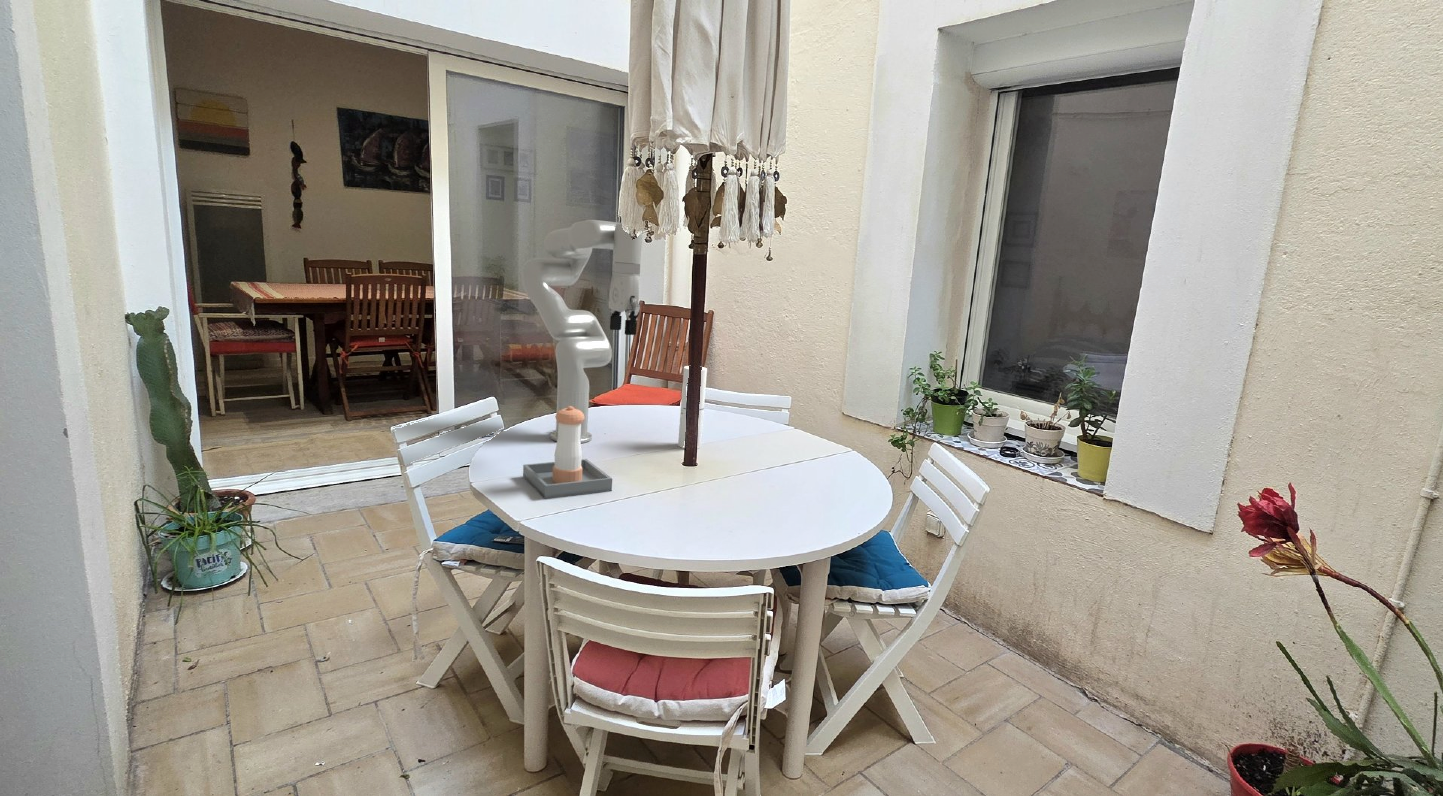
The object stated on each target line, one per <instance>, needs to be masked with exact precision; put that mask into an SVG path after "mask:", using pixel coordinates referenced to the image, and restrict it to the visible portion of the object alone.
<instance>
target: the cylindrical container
mask: <svg viewBox="0 0 1443 796" xmlns="http://www.w3.org/2000/svg"><path fill="white" fill-rule="evenodd" d="M689 366H690V365H685V366H684V367H683V374H682V375H683V377H682V390H681V403H680V414H679V415H680V418H679V429H678V441H677V442H678V443H677V447H678V446H680V447H682V448H681V449H683V446H684V441H685V432H686V386H687V383H688V378H689ZM701 367H702V370H701V393H700V404H699V426H698V446H699V448H700V446H701V447H702V437H703V436H702V434H703V424H704V423H703V422H704V413H705V412H704V411H705V400H706V399H705V398H706V390H707V389H706V388H707V374H708V368H707V367H703V366H701ZM680 447H679V448H680ZM700 449H701V448H700Z"/></svg>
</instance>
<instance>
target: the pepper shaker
mask: <svg viewBox="0 0 1443 796" xmlns="http://www.w3.org/2000/svg"><path fill="white" fill-rule="evenodd" d="M554 416H555V417H554V418H555V420H557V422H559V424H558V440H557V441H556V446H555V451H554V462H555V465H554V466H553V477H552V480H553V482H555V483H567V482H576V481H582V466H581V459H583V456H582V455H583V454H582V453H583V452H582V445H581V444H582V443H581V442H580V433H581V423H582V422H583V421H584V414H583V413H582V412H581V411H580V410H578V409H574V408H573V407H572V406H568V407H567V408H565V409H562V410H559V411H558V412H557V411H556V414H555V415H554Z"/></svg>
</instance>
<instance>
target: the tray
mask: <svg viewBox="0 0 1443 796" xmlns="http://www.w3.org/2000/svg"><path fill="white" fill-rule="evenodd" d="M522 465H523V466H522V467H523V471H522V477H523V478H524V479H525V481H527V483H528V484H530V485H531V486H532V487H533V488H534V489H535V490H536V491H537V493H539V494H540V495H541V497H542V498H543V499H544V500H547V499H554V498H555V499H556V498H564V497H571V496H581V495H588V494H589V495H590V494H596V493H597V494H598V493H604V492H605V493H606V492H612V490H613V478H612V477H611V476H610V475H609V474H607V473H606V472H604V471H603V470H602V469H600V468H599V467H597V466H596V465H595V464H594V463H593V462H591V461H590V460H588V458H582V459H581V466H582V481H576V482H567V483H555V482H553V480H552V477H553V466H554V465H555V461H550V462H538V463H528V464H522Z"/></svg>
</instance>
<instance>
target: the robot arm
mask: <svg viewBox="0 0 1443 796" xmlns="http://www.w3.org/2000/svg"><path fill="white" fill-rule="evenodd" d="M622 223H623V222H616V221H610V220H609V221H608V220H600V219H599V220H597V219H586V220H581V221H580V220H579V221H576V222H573V224H571V226H570V227H565V228H564V227H563V228H560V229H555V230H552V231H550V232H549V233H548V234H547V235H546V236H545V238H544V240H543V241H544V243H543V245H544V248H545V250H546V252H547V253H548V254H549V255H550V256H552V257H551V258H550V257H535V258H534V257H533V258H530V259H528V260H526V261H525V262H524V263H523V265H522V267H521V275H520V277H521V284H522V287H523V289H524V292H525V293H526V296H527V297H528V298H529V300H530V302H531V303H532V304H533V305H534V306H535V308H536V310H537V311H538V314H539V316H540V318H541V319H542V321H543V324H544V325H545V327H546V330H547V332H548V333H549V335H550V336H551V338H552V339H554V340H556V341H558V342H557V343H556V346H555V351H554V353H555V354H554V355H555V361H556V366H557V390H556V391H557V393H556V394H557V395H556V396H557V397H556V398H557V399H556V413H557V412H558V411H559V410H562V409H565V408H567V407H568V406H572V407H573V408H574V409H578V410H580V411H581V412H582V413H583V414H584V421H583V422H582V423H581V433H580V442H581V444H583V443H588V442H590V441H592V439H593V434H592V433H591V432H589V431H588V423H589V422H588V421H589V420H588V419H589V401H590V380H589V377H588V376H587V374H586V372H585V370H584V369H587V368H601V367H605V366H607V365H608V364H609V363H610V362H611V360H612V358H613V350H612V346H611V343H610V341H609V339H608V337H607V334H606V333H605V331H604V330H603V328H602V326H601V324H600V323H599V320H598V319H597V316H595V315H594V314H593V313H592V312H591V311H588V310H584V309H570V308H569V307H568V306H567V304H566V303H565V300H564V298H563V297H562V296H561V295H560V293H558V292H557V291H556V290H555V289H553V288H552V287H551V286H554V287H555V286H557V287H559V286H560V287H561V286H562V287H569V286H572V285H574V284H576V282H578V280H579V278H580V276H581V274H582V272H583V270H584V269H585V267H586V265H587V263H588V261H589V259H590V258H591V255H592V253H593V249H602V250H604V249H605V250H611V251H612V250H613V251H612V252H613V253H612V269H611V274H612V276H611V280H610V287H609V296H608V308H609V309H610V312H609V315H610V318H609V319H610V321H609V330H611V331H621V329H622V320H623V319H622V318H623V316H622V313H625V318H626V319H625V320H624V321H625V322H624V335H626V336H635V335H637V325H638V319H639V318H638V316H639V314H640V309H641V305H640V303H639V302H640V301H639V299H640V295H639V294H640V283H639V280H640V279H639V277H640V276H641V264H642V261H641V260H642V248H643V247H642V245H643V232H642V233H641V234H640V235H639V236H638V237H637V238H635V239H634V240H632V239H631V237H630V235H629V234H628V233H627V232H625V231H624V230H623V228H622ZM553 257H554V258H553ZM555 420H556V419H555ZM558 424H559V422H557V420H556V422H555V431H552V432H551V433H550V439H551V440H552V441H555V442H557V440H558Z"/></svg>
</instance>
